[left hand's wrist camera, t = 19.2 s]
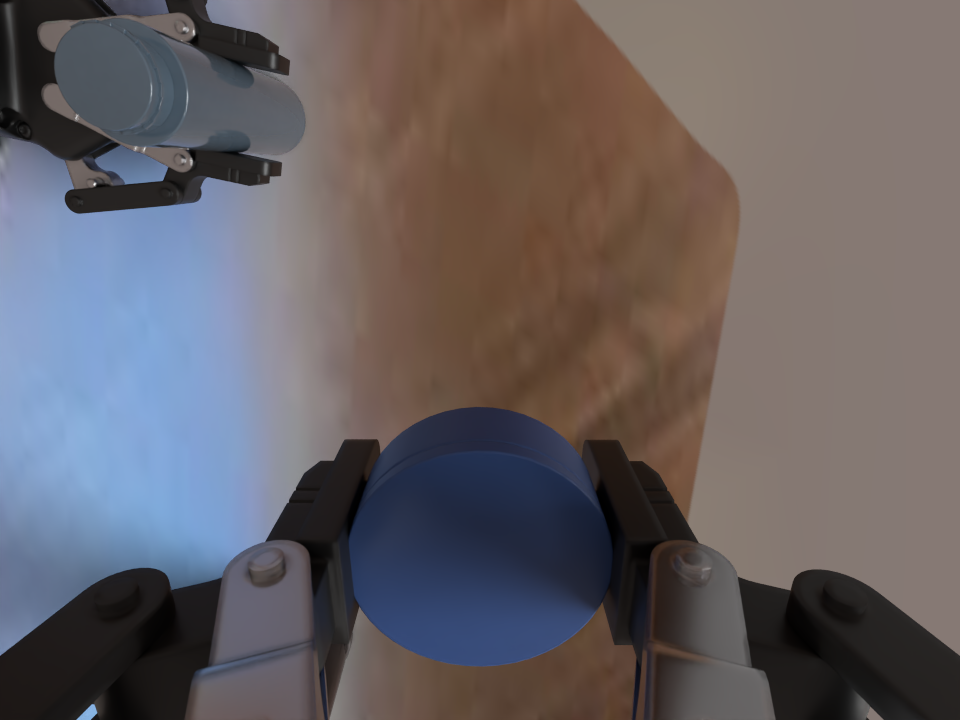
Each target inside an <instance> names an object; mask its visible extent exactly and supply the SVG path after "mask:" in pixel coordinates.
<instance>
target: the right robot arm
mask: <svg viewBox="0 0 960 720" xmlns="http://www.w3.org/2000/svg"><path fill="white" fill-rule="evenodd" d="M206 3H207V0H166V4H167V7H168V10H169V14H161V15H152V16H137V15H119V16H117V15H116V14H115V12H114V11H113V10H112V9H111V8H110V7H109V6H108V5H107V4H106V3H105V2H104V1H103V0H0V136H4V137H9V138H13V139H18V140H23V141H27V142H32V143H35V144H38V145H40V146H42V147H43V148H45V149H46V150H48V151H49V152H50V153H52V154H53V155H55V156H56V157H58V158H60V159H63V160H65V162H66V165H67V168H68V171H69V174H70V177H71V180H72V183H73V186H74V189H73V190H69V191H68V192H67V193H66V195H65V202H66V205H67V206H68V208H69V209H70V210H71V211H73V212H75V213H79V214H81V213H92V212H103V211H114V210H125V209H136V208H147V207H158V206H169V205H177V204H185V203H193V202H197V201H198V200H199V199H200V198H201V188H200V187H201V185H202V183H203V181H204V179H205V178H207V177H211V178H215V179H220V180H225V181H230V182H234V183H239V184H243V185H248V186H253V185H262V184H267V183H269V180H270V176H281V169H282V163H281V162H278V161H273V160H269V159H264V158H259V157H255V156H250V155H246V154H241V153H233V152H217V151H200V150H184V149H168V148H152V147H138V146H132V145H128V144H124V143H122V142H119V141H117V140H115V139H114V138H112V137H110V136H109V135H107V134H106V133H104V132H103V131H102V130H101V129H100V128H98V127H96V126H93V125H92V124H90V123H88V122H86V121H85V120H84V119H82V118H81V117H80V116H79V115H77V114H76V113H75V112H74V111H73V110H72V108H71V107H70V106H69V105H68V103H67V102H66V100H65V99H64V97H63V96H62V94H61V92H60V89H59V87H58V84H57V81H56V77H55V71H54V57H55V52H56V48H57V46H58V43H59V41H60V40H61V38H62V37H63V36H64V34H65V33H66V32H68V31H69V30H70V29H71V27H70V26H72V25H73V24H75V23H77V22H79V21H87V20H94V19H96V20H100V21H102V20H105V19H110V18H126V19H131V20H134V21H137V22H140V23H142V24H145V25H147V26H149V27H152V28H154V29H156V30H159V31H161V32H164V33H166V34H168V35H171V36H173V37H176V38H178V39H180V40H183V41H185V42H187V43H190V44H192V45H195V46H197V47H199V48H202V49H204V50H207V51H209V52H211V53H214V54H216V55H218V56H221V57H223V58H226V59H228V60H230V61H233V62H235V63H237V64H240V65H243V66H247V67H252V68H256V69H260V70H265V71H269V72H274V73H278V74H282V75H289V66H290V60H288V59H286V58H285V57H283V56H281V55H279V54H278V52H279V47H278V46H277V45H276V44H274V43H273V42H271V41H270V40H268V39H267V38H265V37H263V36H262V35H260V34H258V33H254V32H250V31H245V30H241V29H236V28H232V27H228V26H224V25H219V24H215V23H212V22H211V21H210V19H209V17H208V14H207V11H206V7H205V5H206ZM120 145H123V146H125V147H126V148H128V149H131V150H133V151H136V152H139V153H142V154H145V155H147V156H149V157H151V158H153V159H155V160H157V161H159V162H160V163H162V164H164V165H166V166H168V170H167V172H166V175H165V177H164V180H163V181H159V182H148V183H137V184H126V185H124V180H123V179H122V178H120V176H119V175H118V174H116V173H115V172H112V171H105V170H103V169H101V168H100V167H98V166H97V164H96V163H95V161H94V159H96V158H98V157H99V156H101V155H103V154H105V153H107V152H109V151H110V150H112V149H114V148H116V147H118V146H120Z"/></svg>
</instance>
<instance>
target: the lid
mask: <svg viewBox="0 0 960 720" xmlns="http://www.w3.org/2000/svg"><path fill="white" fill-rule="evenodd" d="M348 540H349V550H350V560H351V569H352V579H353V588H354V596H355V599H356V601H357V603H358V604H359V606H360V608H361V610H362V611H363V612H364V614H365V615H366V616H367V617H368V619H369V620H370V621H371V622H372V623H373V624H374V625H375V626H376V627H377V628H378V629H379V630H380V631H381V632H382V633H383V634H385V635H386V636H387V637H389V638H390V639H391V640H393V641H394V642H396V643H397V644H399V645H401V646H402V647H404V648H406V649H408V650H410V651H412V652H414V653H416V654H419V655H421V656H424V657H427V658H430V659H433V660H436V661H441V662H445V663H449V664H456V665H464V666H495V665H503V664H509V663H515V662H519V661H522V660H526V659H530V658H532V657H535V656H538V655H540V654H543V653H545V652H547V651H549V650H551V649H553V648H555V647H557V646H559V645H560V644H562V643H563V642H565V641H566V640H568V639H569V638H571V637H572V636H573V635H574V634H576V633H577V632H578V631H579V630H580V629H581V628H583V626H584V625H585V624H586V623H587V622H588V621H589V620H590V619H591V618H592V617H593V615H594V614H595V612H596V611H597V609H598V608H599V607H600V605H601V603H602V601H603V599H604V597H605V595H606V593H607V590H608V587H609V584H610V579H611V570H612V561H613V544H612V538H611V534H610V531H609V528H608V525H607V523H606V520H605V517H604V514H603V511H602V508H601V505H600V503H599V500H598V497H597V494H596V491H595V488H594V486H593V483H592V480H591V477H590V474H589V471H588V469H587V468H586V466H585V464H584V462H583V460H582V458H581V457H580V456H579V454H578V453H577V452H576V450H575V449H574V448H573V447H572V446H571V445H570V444H569V442H568V441H567V440H566V439H565V438H564V437H562V436H561V435H560V434H558V433H557V432H556V431H555V430H553V429H552V428H550V427H548V426H547V425H545V424H543V423H542V422H540V421H538V420H536V419H533V418H531V417H528V416H526V415H524V414H520V413H517V412H513V411H510V410H504V409H498V408H488V407H472V408H460V409H455V410H450V411H445V412H442V413H439V414H436V415H433V416H430V417H428V418H426V419H424V420H422V421H420V422H418V423H415V424H414V425H412V426H411V427H409V428H408V429H406V430H405V431H403V432H402V433H401V434H399V435H398V436H397V437H396V438H395V439H394V440H392V441H391V442H390V444H389V445H388V446H387V447H386V448H385V449H384V450H383V452H382V453H381V454H380V456H379V457H378V459H377V461H376V462H375V464H374V466H373V468H372V470H371V472H370V475H369V477H368V480H367V483H366V485H365V488H364V491H363V494H362V497H361V500H360V502H359V505H358V508H357V511H356V514H355V517H354V519H353V522H352V525H351V528H350V532H349V536H348Z"/></svg>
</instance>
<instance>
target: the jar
mask: <svg viewBox="0 0 960 720" xmlns="http://www.w3.org/2000/svg"><path fill="white" fill-rule="evenodd" d="M70 27H71V29H70V30H69V31H68V32H66V33H65V34H64V36H63V37H62V38H61V40H60V41H59V43H58V46H57V48H56V52H55V57H54V71H55V77H56V81H57V84H58V87H59V89H60V92H61V94H62V96H63V97H64V99H65V100H66V102H67V103H68V105H69V106H70V107H71V108H72V110H73V111H74V112H75V113H76V114H77V115H79V116H80V117H81V118H82V119H84V120H85V121H86V122H88V123H90V124H92V125H93V126H96V127H98V128H100V129H101V130H102V131H103V132H104V133H106V134H107V135H109V136H110V137H112V138H114V139H115V140H117V141H119V142H122V143H124V144H128V145H132V146H138V147H152V148H168V149H184V150H200V151H217V152H233V153H249V154H265V155H280V154H284V153H287V152H289V151H291V150H292V149H293V148H294V147H296V146H297V144H298V143H299V142H300V140H301V138H302V136H303V133H304V129H305V114H304V109H303V106H302V104H301V102H300V100H299V98H298V97H297V95H296V94H295V93H294V91H293V90H292V89H291V88H290V87H288V86H287V85H286V84H284V83H282V82H280V81H278V80H276V79H273V78H271V77H268V76H266V75H264V74H261V73H259V72H257V71H254V70H252V69H249V68H247V67H245V66H242V65H240V64H237V63H235V62H233V61H230V60H228V59H226V58H223V57H221V56H218V55H216V54H214V53H211V52H209V51H207V50H204V49H202V48H199V47H197V46H195V45H192V44H190V43H187V42H185V41H183V40H180V39H178V38H176V37H173V36H171V35H168V34H166V33H164V32H161V31H159V30H156V29H154V28H152V27H149V26H147V25H145V24H142V23H140V22H137V21H134V20H131V19H126V18H110V19H105V20H102V21H100V20H96V19H94V20H87V21H79V22H77V23H75V24H73V25H72V26H70Z"/></svg>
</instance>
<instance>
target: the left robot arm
mask: <svg viewBox="0 0 960 720" xmlns="http://www.w3.org/2000/svg"><path fill="white" fill-rule="evenodd" d="M379 456H380V446H379V442H378V440H377V439H346V440H344V442H343V444H342V446H341V448H340V450H339V452H338V454H337V456H336V458H335V460H334V461H320V462H318V463H317V464H316V465H315V466H313V467H312V468H311V469H309V470H308V471H307V472H305V473H304V475H303V477H302V478H301V480H300V482H299V484H298V485H297V487H296V491H294V492H293V494H292V496H291V498H290V499H289V503H287V505H286V506H285V508H284V510H283V512H282V513H281V515H280V517H279V519H278V520H277V522H276V524H275V526H274V527H273V529H272V531H271V533H270V534H269V536H268V538H267V540H266V541H265V542H264V543H260V544H257V545H254V546H252V547H250V548H248V549H246V550H244V551H243V552H241V553H240V554H238V555H237V556H236V557H235V558H234V559H233V560H231V561H230V563H229V564H228V565H227V567H226V568H225V570H224V573H223V576H222V578H219V579H217V580H213V581H209V582H205V583H201V584H196V585H192V586H188V587H183V588H179V589H174V590H171V586H170V582H169V579H168V577H167V576H166V574H165V573H163V572H162V571H160V570H157V569H152V568H137V569H131V570H126V571H122V572H119V573H116V574H114V575H111V576H108V577H106V578H104V579H102V580H100V581H98V582H97V583H95V584H93V585H92V586H90V587H89V588H87V589H86V590H84V591H83V592H82V593H81V594H79V595H78V596H77V597H75V598H74V599H73V600H72V601H70V602H69V603H68V604H66V605H65V606H64V607H63V608H61V609H60V610H59V611H57V612H56V613H55V614H54V615H52V616H51V617H50V618H48V619H47V620H46V621H45V622H43V623H42V624H41V625H39V626H38V627H37V628H36V629H34V630H33V631H32V632H30V633H29V634H28V635H26V636H25V637H24V638H23V639H21V640H20V641H19V642H17V643H16V644H15V645H14V646H12V647H11V648H10V649H8V650H7V651H6V652H5V653H3V654H2V655H1V656H0V720H76V719H77V718H78V717H79V716H80V715H81V714H82V713H83V712H84V711H85V710H86V709H87V708H88V707H89V706H90V705H91V704H95V707H96V710H97V714H96V715H95V716H94V717H93V718H92V719H91V720H329V719H330V715H331V712H332V708H333V704H334V701H335V697H336V693H337V690H338V686H339V682H340V679H341V675H342V671H343V667H344V664H345V660H346V658H347V656H348V654H349V650H350V647H351V643H352V637H353V633H352V631H353V627H354V624H355V620H356V616H357V613H358V609H359V604H358V603H357V601H356V599H355V596H354V588H353V579H352V569H351V560H350V550H349V540H348V536H349V532H350V528H351V525H352V522H353V519H354V517H355V514H356V511H357V508H358V505H359V502H360V500H361V497H362V494H363V491H364V488H365V485H366V483H367V480H368V477H369V475H370V472H371V470H372V468H373V466H374V464H375V462H376V461H377V459H378V457H379ZM582 460H583V462H584V464H585V466H586V468H587V469H588V471H589V474H590V477H591V480H592V483H593V486H594V488H595V491H596V494H597V497H598V500H599V503H600V505H601V508H602V511H603V514H604V517H605V520H606V523H607V525H608V528H609V531H610V534H611V538H612V544H613V561H612V570H611V579H610V584H609V587H608V590H607V593H606V595H605V597H604V599H603V601H602V602H603V605H604V609H605V613H606V616H607V620H608V623H609V627H610V630H611V634H612V637H613V641H614V645H633V647H634V650H635V654H636V657H637V658H636V665H635V673H634V684H633V697H632V710H631V720H869V719H868V718H867V714H868V712H869V709H870V706H871V707H872V708H873V709H874V710H875V711H876V712H877V713H878V714H879V715H880V716H881V717H882V718H883V719H884V720H960V656H959V655H958V654H957V653H955V652H954V651H953V650H952V649H950V648H949V647H948V646H946V645H945V644H944V643H942V642H941V641H940V640H939V639H937V638H936V637H935V636H934V635H932V634H931V633H930V632H928V631H927V630H926V629H925V628H923V627H922V626H921V625H919V624H918V623H917V622H915V621H914V620H913V619H912V618H910V617H909V616H908V615H906V614H905V613H904V612H903V611H901V610H900V609H899V608H897V607H896V606H895V605H894V604H892V603H891V602H890V601H888V600H887V599H886V598H885V597H883V596H882V595H881V594H879V593H878V592H877V591H875V590H874V589H872V588H871V587H869V586H868V585H866V584H864V583H863V582H861V581H859V580H856V579H854V578H852V577H849V576H847V575H844V574H841V573H838V572H833V571H828V570H807V571H804V572H801V573H800V574H798V575H797V576H796V577H795V578H794V581H793V584H792V588H791V591H790V590H786V589H781V588H777V587H773V586H768V585H764V584H760V583H755V582H752V581H748V580H745V579H742V578H740V577H738V576H737V573H736V570H735V568H734V567H733V565H732V564H731V563H730V561H729V560H727V559H726V558H725V557H724V556H723V555H722V554H720V553H719V552H717V551H716V550H714V549H712V548H710V547H708V546H705V545H703V544H700V543H698V541H697V539H696V537H695V536H694V534H693V532H692V530H691V529H690V527H689V525H688V523H687V522H686V520H685V518H684V517H683V515H682V513H681V511H680V510H679V508H678V506H677V505H676V504H674V499H673V498H672V496H671V494H670V492H669V491H667V487H666V486H665V484H664V482H663V480H662V479H661V477H660V475H659V474H658V473H657V472H656V471H654V470H653V469H652V468H650V467H649V466H648V465H646V464H645V463H644V462H642V461H629V460H628V458H627V456H626V454H625V452H624V450H623V448H622V446H621V444H620V442H619V441H618V440H585V441H584V445H583V452H582Z"/></svg>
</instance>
